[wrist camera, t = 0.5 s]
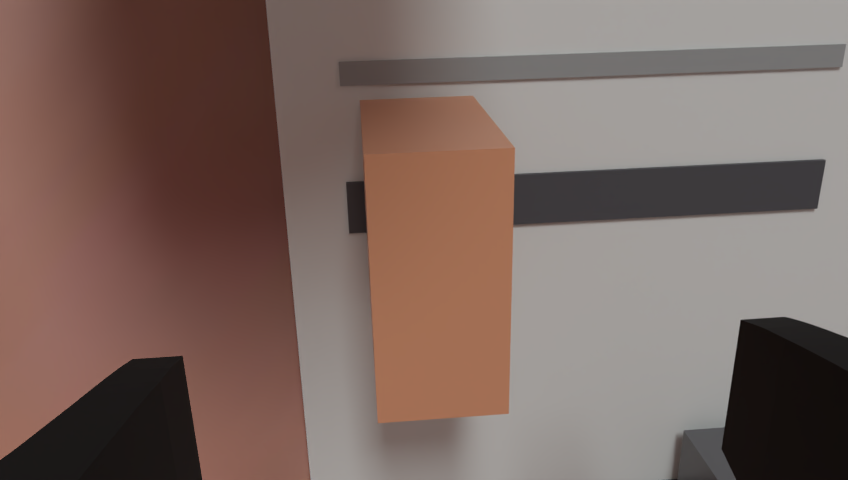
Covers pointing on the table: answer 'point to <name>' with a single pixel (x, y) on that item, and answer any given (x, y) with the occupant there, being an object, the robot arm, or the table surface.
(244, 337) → the table surface
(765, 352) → the robot arm
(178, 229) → the table surface
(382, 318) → the block
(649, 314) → the mixer plate
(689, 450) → the fader
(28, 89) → the table surface
